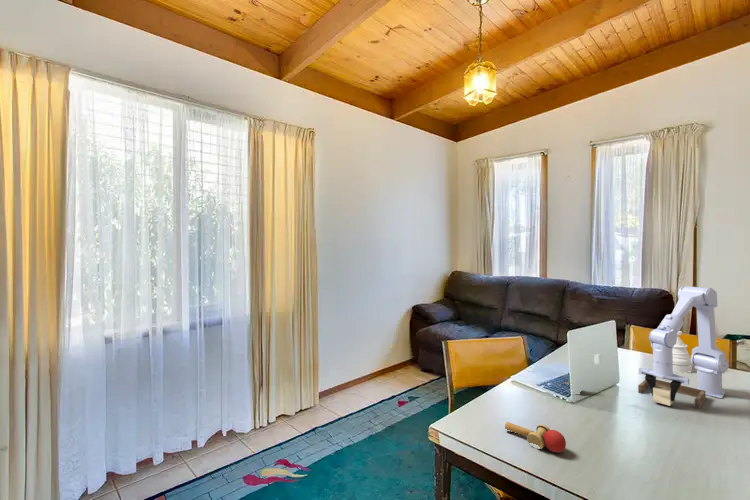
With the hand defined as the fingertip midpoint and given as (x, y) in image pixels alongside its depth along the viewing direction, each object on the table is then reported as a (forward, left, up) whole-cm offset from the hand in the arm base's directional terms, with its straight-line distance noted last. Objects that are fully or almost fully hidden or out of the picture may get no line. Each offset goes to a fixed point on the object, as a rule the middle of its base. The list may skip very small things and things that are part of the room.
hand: (663, 397), depth 130 cm
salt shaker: (+14, -26, -3) cm, 30 cm away
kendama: (+62, -18, -3) cm, 64 cm away
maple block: (0, 0, -1) cm, 1 cm away
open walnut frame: (-11, 0, -2) cm, 11 cm away
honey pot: (-51, -7, -3) cm, 52 cm away
